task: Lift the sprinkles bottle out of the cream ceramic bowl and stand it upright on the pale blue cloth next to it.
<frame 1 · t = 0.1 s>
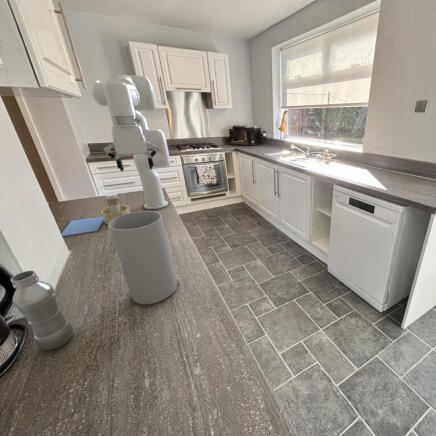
hand: (137, 169, 92), 31 cm above the worktop, tool pointing down, fingers open, 9 cm apart
sprinkles bottle: (118, 219, 123), resting on bowl
cylinder vase: (156, 291, 76), on the worktop
cloth: (84, 226, 116), on the worktop
plastic bottle: (59, 342, 59), on the worktop
bowl: (118, 220, 123), on the worktop
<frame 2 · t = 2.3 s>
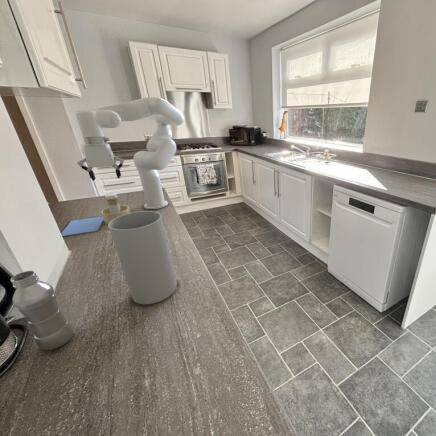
hand: (106, 178, 113), 22 cm above the worktop, tool pointing down, fingers open, 9 cm apart
nothing on the worktop moved.
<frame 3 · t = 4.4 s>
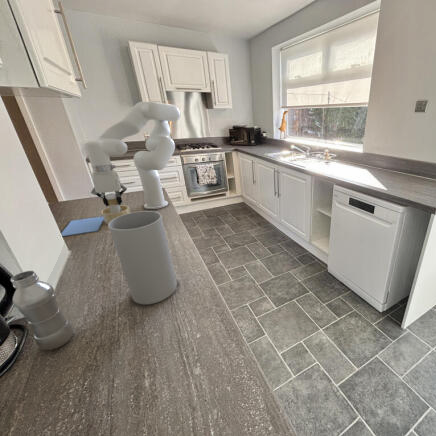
hand: (113, 204, 119), 9 cm above the worktop, tool pointing down, fingers closed on sprinkles bottle, 4 cm apart
sprinkles bottle: (118, 219, 123), resting on bowl, touching gripper
everything else where it was.
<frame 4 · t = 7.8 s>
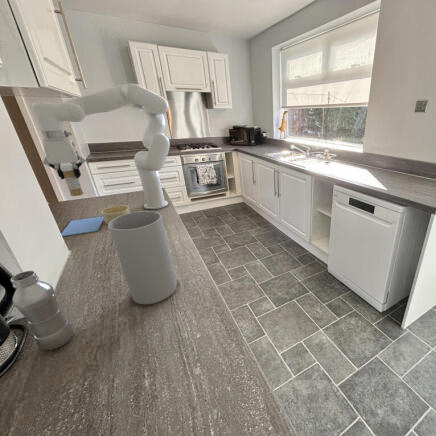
hand: (71, 177, 107), 24 cm above the worktop, tool pointing down, fingers closed on sprinkles bottle, 4 cm apart
sprinkles bottle: (77, 195, 111), point 16 cm above the worktop, touching gripper
everything else where it was.
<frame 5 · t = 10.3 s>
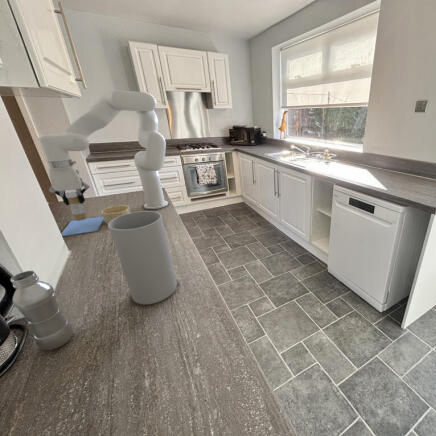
hand: (75, 203, 111), 12 cm above the worktop, tool pointing down, fingers closed on sprinkles bottle, 4 cm apart
sprinkles bottle: (81, 219, 115), point 4 cm above the worktop, touching gripper
everything else where it was.
when the fingers open (9 cm above the worktop, at t = 11.6 s): sprinkles bottle stays where it is, resting on cloth.
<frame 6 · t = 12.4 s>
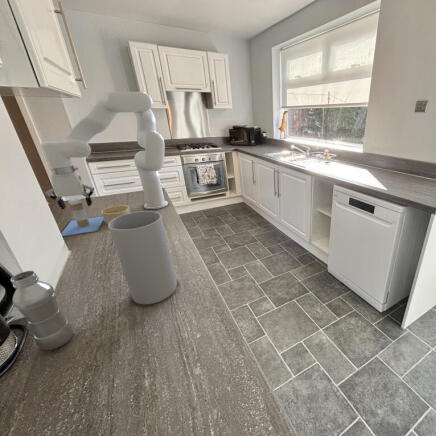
hand: (77, 206, 112), 10 cm above the worktop, tool pointing down, fingers open, 9 cm apart
sprinkles bottle: (84, 225, 116), resting on cloth
everything else where it was.
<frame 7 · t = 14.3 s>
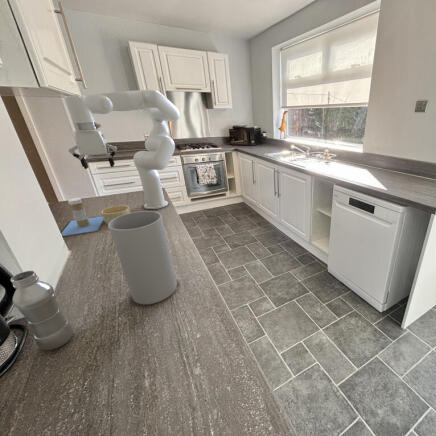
hand: (99, 167, 109), 28 cm above the worktop, tool pointing down, fingers open, 9 cm apart
nothing on the worktop moved.
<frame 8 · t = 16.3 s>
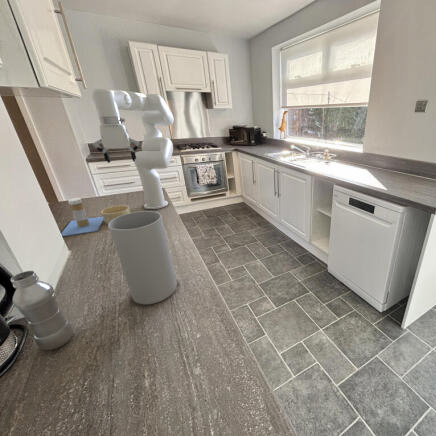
hand: (121, 161, 110), 30 cm above the worktop, tool pointing down, fingers open, 9 cm apart
nothing on the worktop moved.
at the end: sprinkles bottle inside the target area on the cloth (0.0 cm from its centre), point 0.2 cm above the cloth's base; sprinkles bottle tilted 0° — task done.
